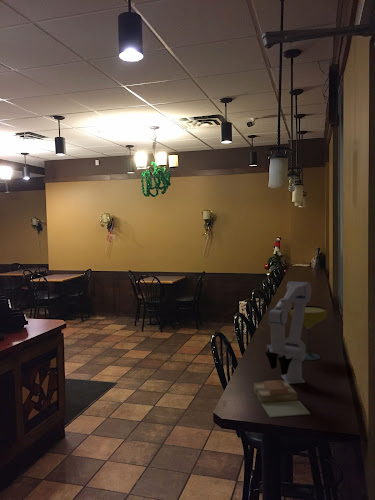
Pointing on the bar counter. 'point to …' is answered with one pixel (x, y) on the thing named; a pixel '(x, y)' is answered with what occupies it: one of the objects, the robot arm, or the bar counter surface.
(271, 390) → the terracotta tile
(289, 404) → the sage mat
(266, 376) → the bar counter surface
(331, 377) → the bar counter surface
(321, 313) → the cocktail glass
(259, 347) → the bar counter surface
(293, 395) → the birch deck
